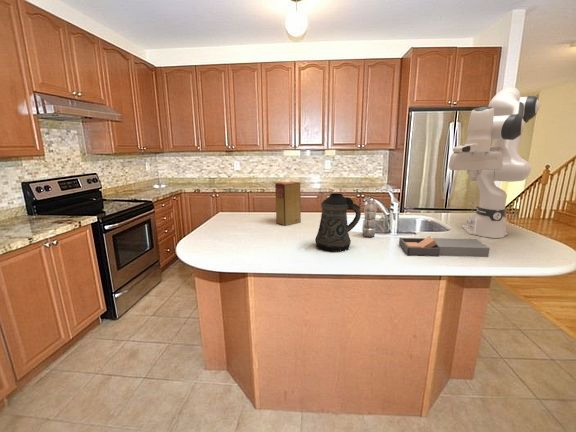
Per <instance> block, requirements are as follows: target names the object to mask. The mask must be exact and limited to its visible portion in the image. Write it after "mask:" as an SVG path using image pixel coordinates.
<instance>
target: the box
mask: <svg viewBox="0 0 576 432" xmlns="http://www.w3.org/2000/svg"><path fill="white" fill-rule="evenodd" d="M425 238H426V237H425ZM425 238H424V237H423V238H422V237H421V238H418V237H416V238H415V237H399V242H398V245H399V247H400V249H402V250H403V252H404V253H405V254H407V255H406V256H412V257H413V256H415V257H440V256H439V253H440V248H422V247H409V246H408V245H407V244H406V243H405V242H417V243H419V242H421V241H422V240H424V239H425Z"/></svg>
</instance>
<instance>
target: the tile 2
mask: <svg viewBox="0 0 576 432" xmlns="http://www.w3.org/2000/svg"><path fill="white" fill-rule="evenodd" d="M418 244H419V245H420V246H421V247H422V248H432V247H433V246H435V245H436V244H437V243H436V242H435V240H434V239H432V236H430V235H429V236H427V237H425V239H424V240H422V241H421V242H419V243H418Z"/></svg>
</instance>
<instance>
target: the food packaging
mask: <svg viewBox="0 0 576 432" xmlns="http://www.w3.org/2000/svg"><path fill="white" fill-rule="evenodd" d="M274 185H275V186H274V187H275V191H274V193H275V217H276V218H275V219H276V220H275V221H276V224H278V225H280V226H284V227H286V226H291V225H296V224H300V223H302V220H301V219H302V218H301V217H302V216H301V214H302V212H301V211H302V209H301V206H302V205H301V182H299V181H284V182H275V184H274Z"/></svg>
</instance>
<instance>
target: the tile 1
mask: <svg viewBox="0 0 576 432" xmlns="http://www.w3.org/2000/svg"><path fill="white" fill-rule="evenodd" d="M405 243H406V244H407V245H408V246H409V247H421V246H420V245H419V244H418V243H417V242H405Z"/></svg>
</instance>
